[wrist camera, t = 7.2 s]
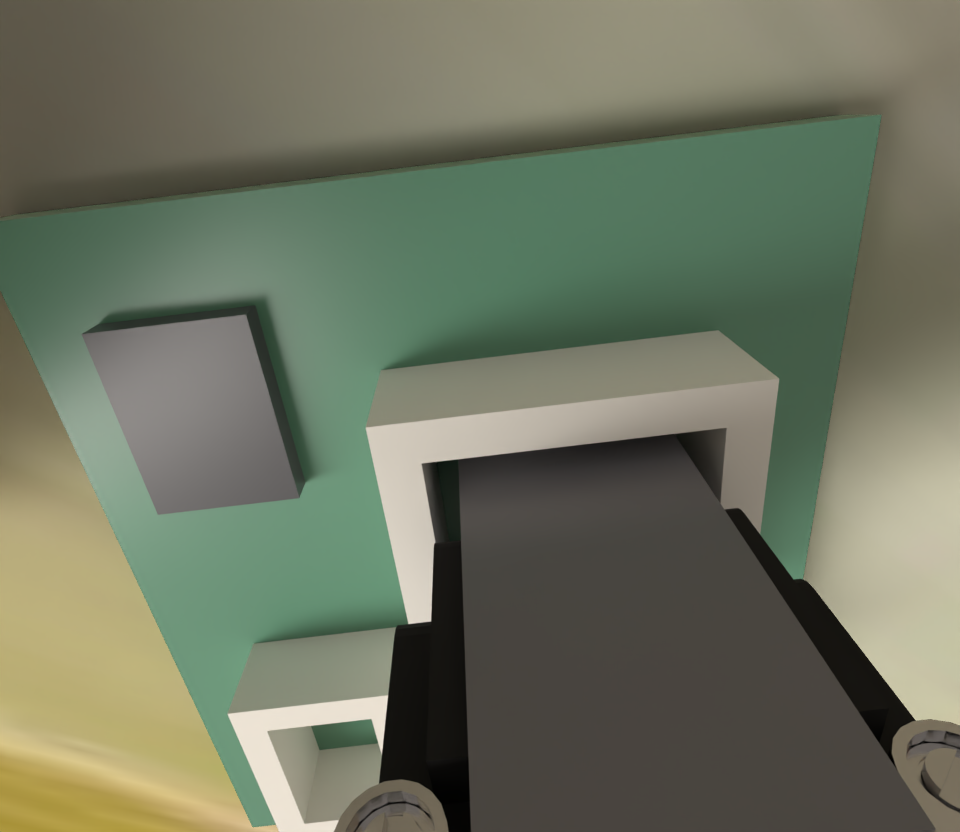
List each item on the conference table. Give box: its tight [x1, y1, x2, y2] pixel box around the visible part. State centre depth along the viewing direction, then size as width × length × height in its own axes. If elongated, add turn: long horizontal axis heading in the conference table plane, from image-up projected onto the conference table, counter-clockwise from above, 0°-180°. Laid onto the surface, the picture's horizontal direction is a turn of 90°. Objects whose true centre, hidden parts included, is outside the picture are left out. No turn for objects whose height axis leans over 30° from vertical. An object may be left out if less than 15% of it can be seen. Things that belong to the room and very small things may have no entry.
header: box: [366, 330, 779, 624], centre depth 13 cm, size 7×7×2 cm
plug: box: [458, 434, 936, 832], centre depth 10 cm, size 4×4×8 cm
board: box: [0, 115, 881, 832], centre depth 14 cm, size 18×16×3 cm
